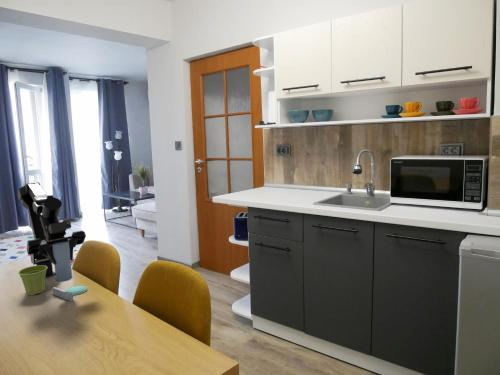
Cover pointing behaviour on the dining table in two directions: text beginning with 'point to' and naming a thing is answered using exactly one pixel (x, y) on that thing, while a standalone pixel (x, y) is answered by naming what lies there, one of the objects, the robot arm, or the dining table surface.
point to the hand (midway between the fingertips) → (63, 262)
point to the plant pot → (33, 279)
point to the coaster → (77, 290)
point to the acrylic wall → (62, 293)
